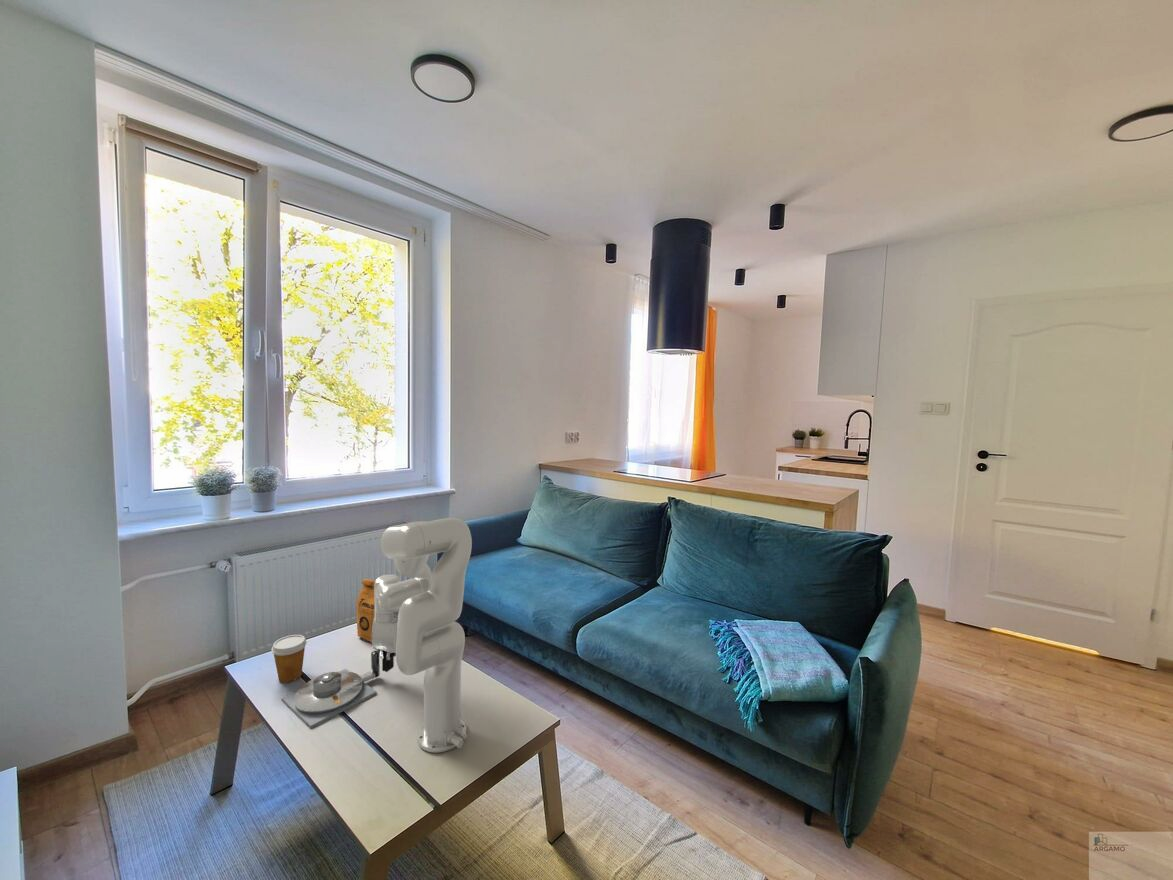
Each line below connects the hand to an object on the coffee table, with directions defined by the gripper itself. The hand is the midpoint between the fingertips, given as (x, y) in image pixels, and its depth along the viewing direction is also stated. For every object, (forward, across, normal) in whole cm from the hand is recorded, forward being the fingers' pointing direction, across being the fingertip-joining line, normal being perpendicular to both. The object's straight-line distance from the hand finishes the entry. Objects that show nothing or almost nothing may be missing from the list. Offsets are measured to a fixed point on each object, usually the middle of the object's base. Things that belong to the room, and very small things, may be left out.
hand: (388, 669), depth 148 cm
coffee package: (+4, +24, -19) cm, 31 cm away
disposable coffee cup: (+4, +30, +11) cm, 32 cm away
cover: (+2, +10, +14) cm, 17 cm away
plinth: (+4, +10, +13) cm, 17 cm away
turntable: (+3, +9, +10) cm, 14 cm away
